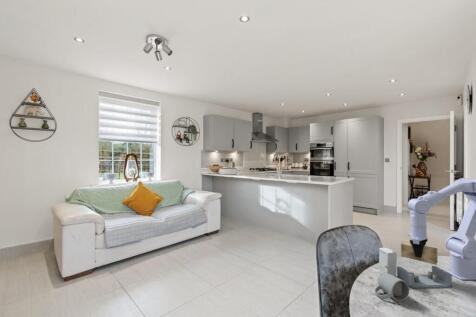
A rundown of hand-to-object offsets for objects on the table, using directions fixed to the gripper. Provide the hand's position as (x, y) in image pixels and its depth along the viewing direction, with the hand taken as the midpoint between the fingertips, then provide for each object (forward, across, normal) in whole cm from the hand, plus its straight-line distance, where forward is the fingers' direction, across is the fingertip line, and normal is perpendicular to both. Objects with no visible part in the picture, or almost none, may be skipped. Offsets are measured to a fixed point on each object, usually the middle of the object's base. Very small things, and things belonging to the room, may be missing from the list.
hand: (419, 255), depth 104 cm
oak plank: (+2, 0, 0) cm, 2 cm away
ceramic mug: (+9, +27, -6) cm, 29 cm away
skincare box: (+9, +11, -10) cm, 18 cm away
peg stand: (+9, +6, +2) cm, 11 cm away
